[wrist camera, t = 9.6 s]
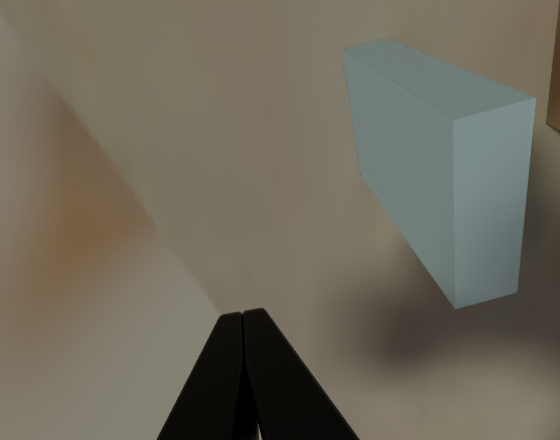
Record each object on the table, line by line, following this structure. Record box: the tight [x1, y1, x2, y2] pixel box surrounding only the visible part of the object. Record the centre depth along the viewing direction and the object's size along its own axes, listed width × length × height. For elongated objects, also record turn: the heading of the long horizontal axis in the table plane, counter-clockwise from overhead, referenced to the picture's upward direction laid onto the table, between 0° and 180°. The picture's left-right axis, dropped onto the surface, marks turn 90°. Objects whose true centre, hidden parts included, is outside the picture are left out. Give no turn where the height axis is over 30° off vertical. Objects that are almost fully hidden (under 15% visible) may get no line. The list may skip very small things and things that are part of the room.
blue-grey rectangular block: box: [342, 38, 536, 310], centre depth 12 cm, size 5×2×8 cm, turn 14°
